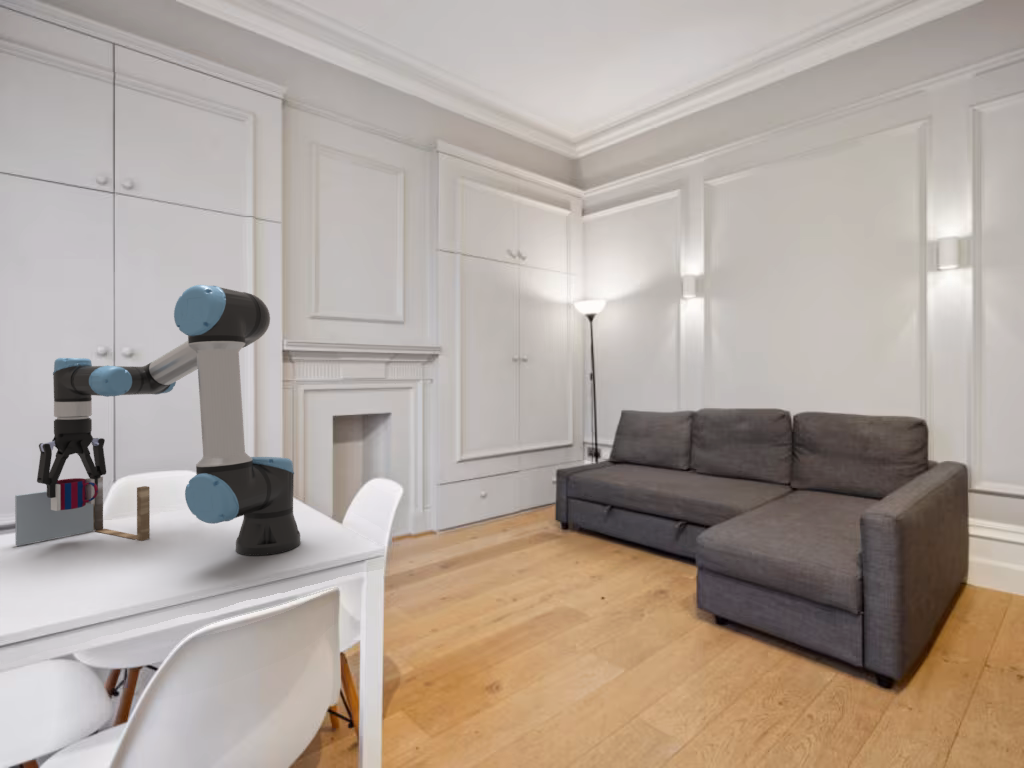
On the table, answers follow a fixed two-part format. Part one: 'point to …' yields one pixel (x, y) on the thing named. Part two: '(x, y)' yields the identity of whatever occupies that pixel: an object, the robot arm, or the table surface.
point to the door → (48, 519)
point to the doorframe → (142, 514)
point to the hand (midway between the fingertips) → (73, 506)
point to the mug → (74, 493)
